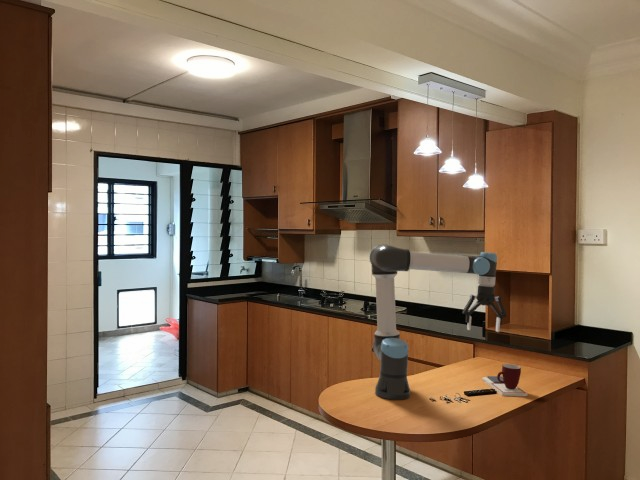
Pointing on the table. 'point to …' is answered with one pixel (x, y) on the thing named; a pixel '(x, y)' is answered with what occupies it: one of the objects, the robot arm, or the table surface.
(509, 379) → the mug
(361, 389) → the table surface
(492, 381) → the board
